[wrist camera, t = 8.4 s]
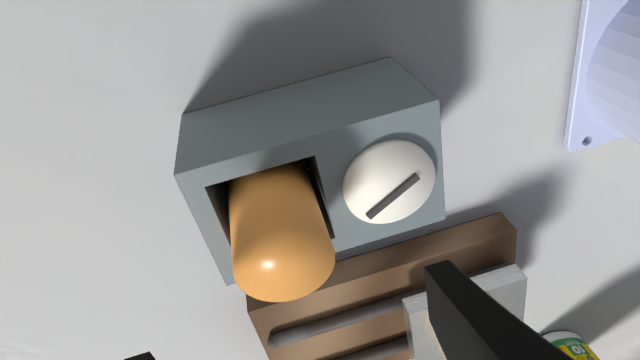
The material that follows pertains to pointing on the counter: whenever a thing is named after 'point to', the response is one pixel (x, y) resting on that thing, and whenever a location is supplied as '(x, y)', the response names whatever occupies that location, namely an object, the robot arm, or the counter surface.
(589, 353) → the supplement bottle
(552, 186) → the counter surface
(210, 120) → the gauge box
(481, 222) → the rail track
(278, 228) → the button
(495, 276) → the carriage
